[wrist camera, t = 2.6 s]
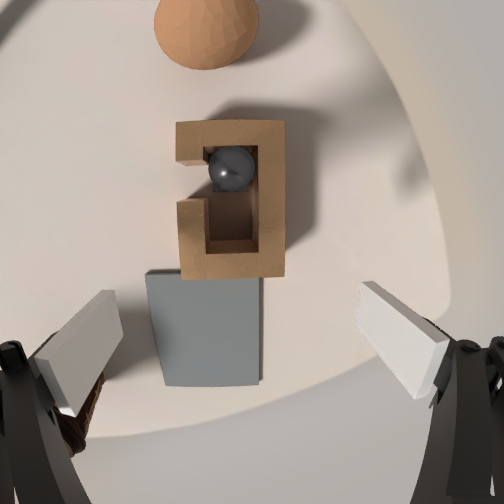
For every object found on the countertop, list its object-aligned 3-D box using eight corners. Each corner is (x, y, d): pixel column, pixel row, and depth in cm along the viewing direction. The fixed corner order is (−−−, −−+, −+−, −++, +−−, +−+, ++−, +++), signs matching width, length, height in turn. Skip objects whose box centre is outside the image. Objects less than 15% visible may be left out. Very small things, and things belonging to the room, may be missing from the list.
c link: (185, 134, 23) (175, 122, 18) (273, 132, 23) (284, 120, 18) (189, 262, 25) (181, 280, 21) (273, 259, 26) (284, 276, 21)
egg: (155, 78, 21) (115, 21, 10) (185, 15, 19) (169, -52, 8) (238, 94, 22) (246, 34, 11) (262, 30, 20) (282, -40, 9)
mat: (146, 273, 25) (144, 275, 25) (258, 270, 26) (259, 272, 26) (166, 382, 29) (165, 385, 28) (258, 381, 30) (258, 384, 29)
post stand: (213, 159, 23) (203, 142, 14) (246, 158, 24) (259, 141, 14) (213, 191, 24) (204, 196, 14) (246, 191, 24) (259, 195, 15)
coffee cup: (60, 378, 28) (21, 439, 15) (54, 332, 26) (-1, 392, 13) (114, 399, 29) (85, 472, 16) (112, 355, 27) (71, 433, 15)
